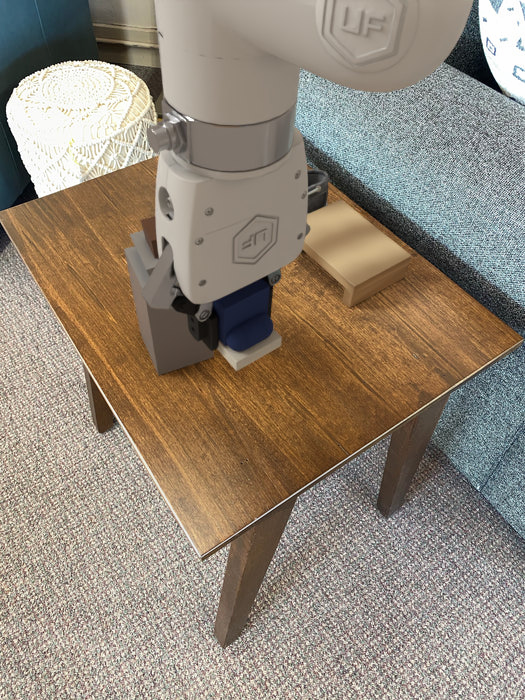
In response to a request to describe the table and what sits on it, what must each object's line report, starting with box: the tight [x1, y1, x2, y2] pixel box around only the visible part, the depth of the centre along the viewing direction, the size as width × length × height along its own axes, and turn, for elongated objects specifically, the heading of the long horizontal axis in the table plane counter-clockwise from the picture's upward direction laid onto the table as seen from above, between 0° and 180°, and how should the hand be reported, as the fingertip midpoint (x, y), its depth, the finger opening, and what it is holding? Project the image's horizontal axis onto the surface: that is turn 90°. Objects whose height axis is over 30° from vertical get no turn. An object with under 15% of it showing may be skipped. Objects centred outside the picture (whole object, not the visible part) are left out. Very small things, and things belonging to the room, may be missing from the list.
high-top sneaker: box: [212, 278, 283, 372], centre depth 46 cm, size 8×4×6 cm, turn 37°
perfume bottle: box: [123, 215, 214, 376], centre depth 60 cm, size 7×7×18 cm
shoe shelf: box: [302, 199, 412, 309], centre depth 76 cm, size 14×10×4 cm
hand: (231, 323), depth 47 cm, fingers closed on high-top sneaker, 4 cm apart
